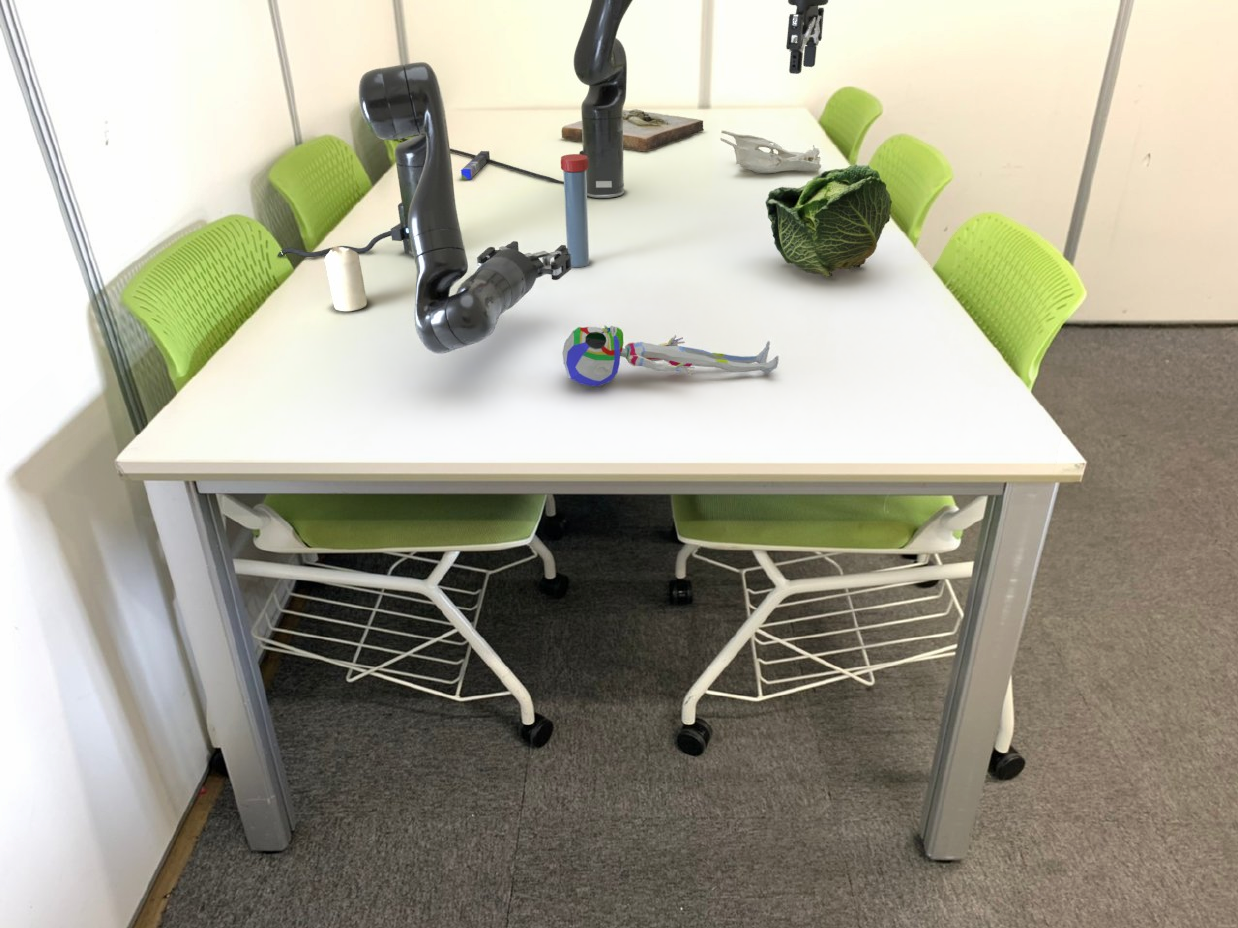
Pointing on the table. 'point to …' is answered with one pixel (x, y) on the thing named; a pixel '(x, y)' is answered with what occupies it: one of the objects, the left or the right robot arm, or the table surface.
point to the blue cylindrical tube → (576, 217)
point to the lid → (574, 163)
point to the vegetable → (830, 219)
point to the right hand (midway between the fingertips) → (802, 70)
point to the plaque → (645, 129)
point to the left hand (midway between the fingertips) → (540, 248)
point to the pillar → (475, 165)
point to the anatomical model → (770, 155)
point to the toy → (644, 356)
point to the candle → (345, 279)
